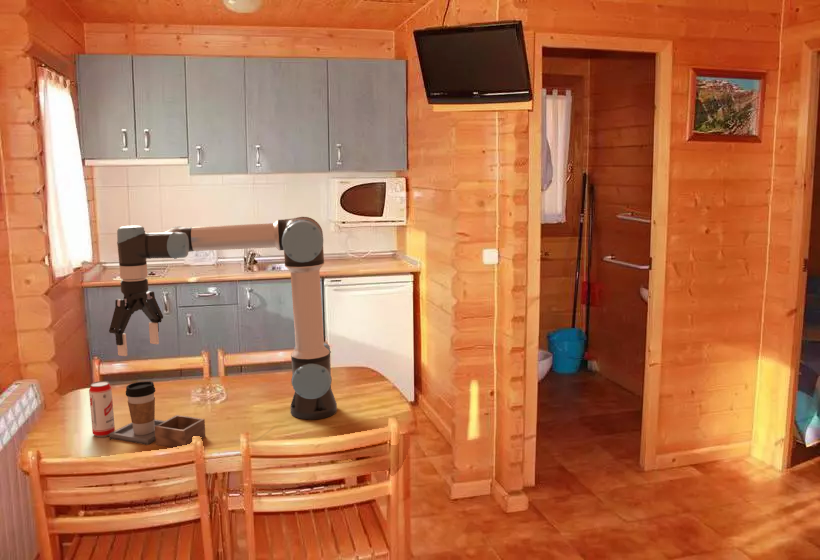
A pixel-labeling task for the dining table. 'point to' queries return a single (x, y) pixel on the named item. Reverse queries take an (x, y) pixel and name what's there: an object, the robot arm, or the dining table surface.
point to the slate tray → (128, 434)
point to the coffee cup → (141, 406)
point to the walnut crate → (179, 431)
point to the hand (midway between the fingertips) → (139, 349)
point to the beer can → (101, 408)
